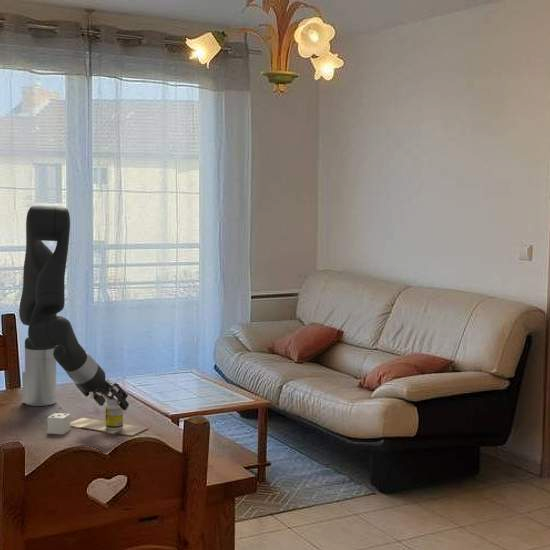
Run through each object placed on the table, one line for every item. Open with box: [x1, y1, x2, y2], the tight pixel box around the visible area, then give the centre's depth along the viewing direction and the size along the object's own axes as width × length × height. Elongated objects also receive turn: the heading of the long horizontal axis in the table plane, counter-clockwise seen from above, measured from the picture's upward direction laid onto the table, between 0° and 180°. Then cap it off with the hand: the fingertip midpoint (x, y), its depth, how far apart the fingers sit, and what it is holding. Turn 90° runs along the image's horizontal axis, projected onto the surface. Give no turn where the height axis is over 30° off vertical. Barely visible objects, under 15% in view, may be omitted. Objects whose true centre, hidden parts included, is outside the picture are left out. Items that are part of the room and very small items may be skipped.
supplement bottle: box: [105, 396, 124, 430], centre depth 223 cm, size 5×5×8 cm
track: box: [70, 417, 149, 438], centre depth 224 cm, size 22×8×1 cm, turn 66°
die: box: [47, 412, 71, 435], centre depth 219 cm, size 4×4×5 cm
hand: (114, 405), depth 222 cm, fingers open, 8 cm apart
